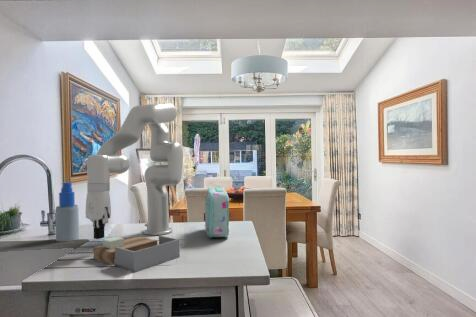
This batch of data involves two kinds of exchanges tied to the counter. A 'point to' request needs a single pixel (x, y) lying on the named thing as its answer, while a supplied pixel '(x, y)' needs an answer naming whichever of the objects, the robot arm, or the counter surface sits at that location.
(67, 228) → the spray bottle
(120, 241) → the sage tile
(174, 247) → the box
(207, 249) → the counter surface
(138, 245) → the tan wooden board
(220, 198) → the lunch box
